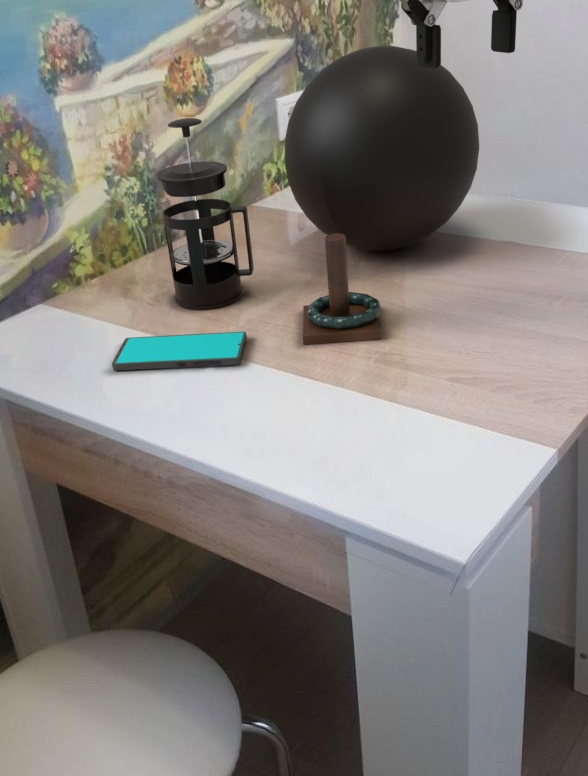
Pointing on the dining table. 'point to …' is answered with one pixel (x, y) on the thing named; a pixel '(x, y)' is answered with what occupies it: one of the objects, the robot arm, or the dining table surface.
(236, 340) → the smartphone
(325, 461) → the dining table surface
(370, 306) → the ring
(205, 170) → the french press
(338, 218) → the ball
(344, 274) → the brown peg stand
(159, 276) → the dining table surface
